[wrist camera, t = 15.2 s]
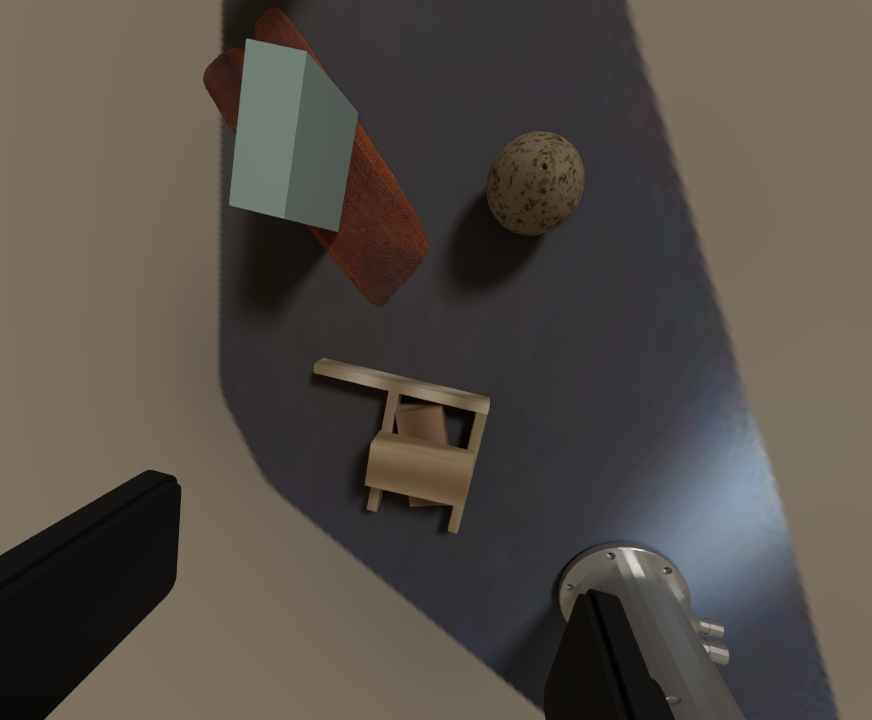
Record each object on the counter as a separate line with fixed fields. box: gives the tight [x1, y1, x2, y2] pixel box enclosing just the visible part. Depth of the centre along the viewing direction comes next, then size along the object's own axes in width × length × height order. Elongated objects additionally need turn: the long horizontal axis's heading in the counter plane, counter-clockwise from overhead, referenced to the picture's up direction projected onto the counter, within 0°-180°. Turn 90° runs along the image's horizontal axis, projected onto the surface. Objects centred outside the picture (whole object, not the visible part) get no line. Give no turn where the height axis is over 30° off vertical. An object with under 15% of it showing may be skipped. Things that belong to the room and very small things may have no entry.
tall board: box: [229, 38, 358, 232], centre depth 31 cm, size 4×10×10 cm, turn 166°
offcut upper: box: [365, 431, 474, 508], centre depth 37 cm, size 4×9×3 cm, turn 80°
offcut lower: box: [395, 401, 450, 507], centre depth 40 cm, size 4×10×3 cm, turn 7°
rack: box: [314, 358, 490, 533], centre depth 40 cm, size 17×14×2 cm
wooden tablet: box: [203, 7, 428, 307], centre depth 37 cm, size 27×10×2 cm, turn 35°
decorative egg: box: [486, 131, 584, 235], centre depth 30 cm, size 7×7×10 cm
